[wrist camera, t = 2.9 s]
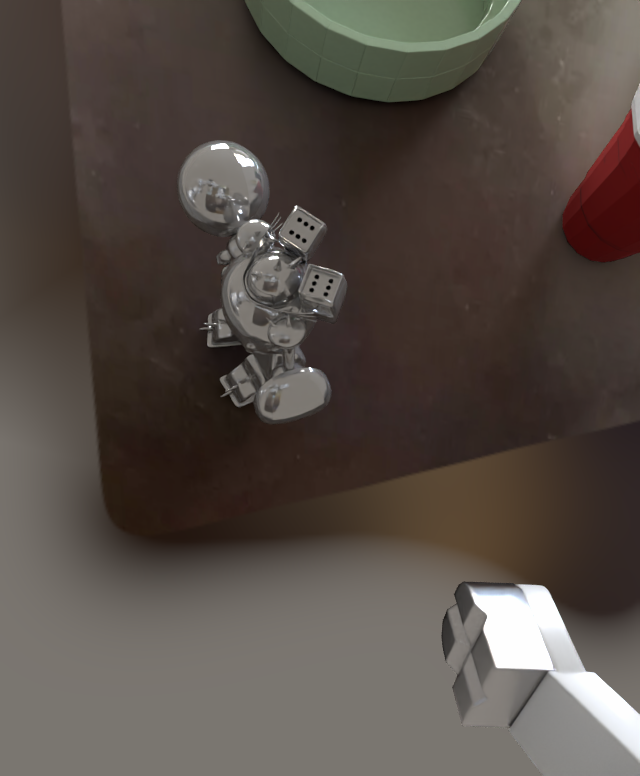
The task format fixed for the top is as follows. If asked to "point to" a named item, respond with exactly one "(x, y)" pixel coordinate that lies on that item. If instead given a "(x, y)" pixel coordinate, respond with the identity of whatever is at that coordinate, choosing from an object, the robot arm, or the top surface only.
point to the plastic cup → (609, 198)
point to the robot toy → (261, 282)
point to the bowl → (384, 42)
